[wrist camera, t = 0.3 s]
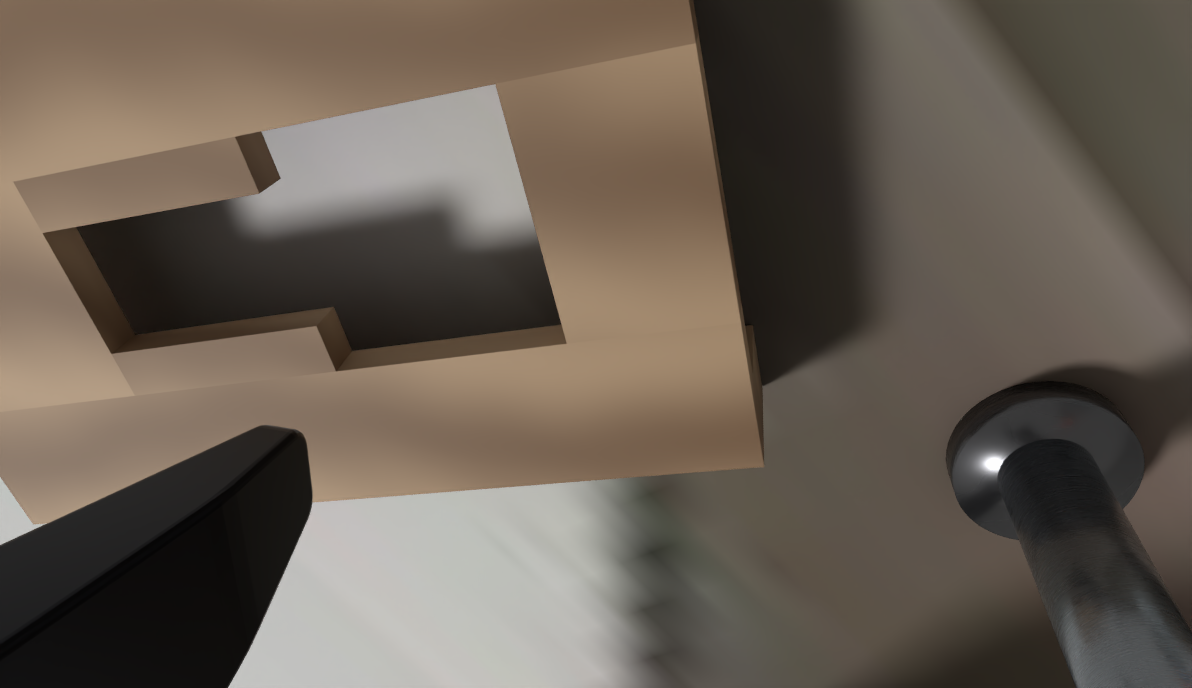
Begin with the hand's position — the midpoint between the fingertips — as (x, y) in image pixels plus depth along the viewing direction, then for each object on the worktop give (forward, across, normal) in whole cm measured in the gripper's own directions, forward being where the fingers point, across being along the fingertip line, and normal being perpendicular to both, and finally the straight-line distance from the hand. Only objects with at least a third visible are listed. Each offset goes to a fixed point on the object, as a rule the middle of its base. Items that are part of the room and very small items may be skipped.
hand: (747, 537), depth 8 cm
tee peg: (+14, -9, +8) cm, 18 cm away
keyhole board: (+14, +11, +3) cm, 18 cm away
